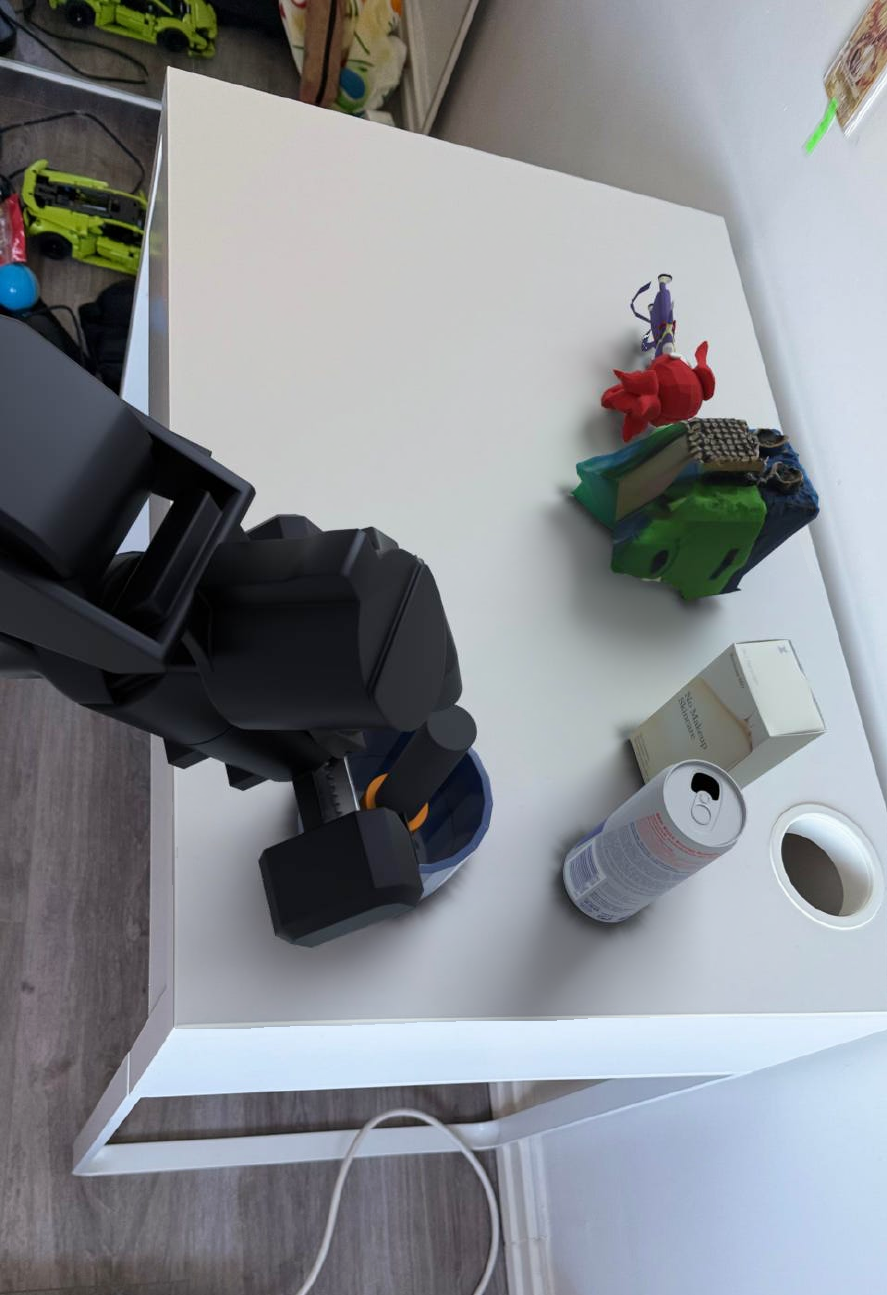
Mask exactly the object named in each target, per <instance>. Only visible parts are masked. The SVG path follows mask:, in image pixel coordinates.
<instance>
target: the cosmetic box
mask: <svg viewBox="0 0 887 1295" xmlns="http://www.w3.org/2000/svg"><path fill="white" fill-rule="evenodd" d="M798 656H799V655H798V654H797V651H796V649H795V647H794V644H793V641H792V639H791V638H790V637H782V638H781V637H780V638H763V639H749V640H740V641H739V640H738V641H734V642H732V643H731V644H730V645H729V647H727V648H726V649H725V650H724V651H723V652H721V654H719V655H718V656H717V657H716V658H714V659H713V660H712V661H711V662H710V663H709V664H708V665H707V666H706V667H705V668H703V669H702V670H701V671H700V672H699V673H698V674H696V675H695V676H694V677H693V678H692V679H691V680H689V681H688V682H687V683H686V684H685V685H684V686H683V687H682V688H681V689H680V690H679V691H677V692H676V693H675V694H674V695H673V696H672V697H671V698H669V699H668V700H667V701H666V702H665V703H664V704H663V705H662V706H660V707H659V708H658V709H657V710H656V711H655V712H653V714H652V715H650V716H649V717H648V718H647V719H645V721H643V723H642V724H640V725H638V727H637V728H636V729H635V730H634V731H633V732H631V733H630V734H629V739H630V743H631V746H632V748H633V752H634V755H635V757H636V761H637V764H638V766H639V770H640V773H641V776H642V779H643V782H644V786H645V785H646V784H647V783H648V782H650V781H651V780H652V779H653V778H654V777H655V776H657V775H658V774H659V773H660V772H661V771H662V770H664V769H665V768H667V767H669V766H670V765H674V764H677V763H680V762H683V761H686V760H694V759H697V760H704V761H707V762H710V763H712V764H714V765H716V766H718V767H720V768H721V769H723V770H724V771H725V772H727V773H728V774H729V775H730V776H731V777H732V778H733V779H734V781H735V782H736V783H737V785H738V786H739V788H740V790H741V791H742V790H744V788H745V789H746V787H747V786H749V785H750V784H752V783H754V782H755V781H756V780H757V779H759V778H761V777H762V776H764V775H765V774H766V773H768V772H769V771H771V770H772V769H774V768H775V767H777V766H779V765H780V764H781V763H782V762H784V761H785V760H788V758H790V757H791V756H793V755H794V754H796V753H798V752H799V751H800V750H802V749H803V748H804V747H806V746H808V745H809V744H810V743H812V742H813V741H815V740H816V739H817V738H820V737H821V736H823V735H824V734H825V733H827V732H828V726H827V724H826V721H825V718H824V717H823V714H822V711H821V710H820V706H819V704H818V702H817V699H816V696H815V694H814V691H813V688H812V686H811V684H810V682H809V679H808V677H807V675H806V672H805V670H804V667H803V666H802V663H801V661H800V659H799V657H798Z"/></svg>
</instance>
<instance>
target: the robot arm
mask: <svg viewBox="0 0 887 1295" xmlns="http://www.w3.org/2000/svg"><path fill="white" fill-rule="evenodd" d="M212 454H213V451H212V450H211V449H208V448H206V447H204V446H202V445H200V444H198V443H196V442H195V441H192V440H190V439H189V438H186V437H185V436H182V435H181V434H178V433H177V432H174V431H172V430H170V429H169V428H167V427H166V426H164V425H162V424H161V423H159V422H158V421H156V420H155V419H153V418H152V417H151V416H149V415H147V414H146V413H144V412H142V411H141V410H140V409H138V408H137V407H136V406H134V405H133V404H131V403H129V402H128V401H126V400H125V399H123V398H122V397H121V396H118V395H117V394H116V393H115V392H114V391H113V390H112V389H111V388H109V387H108V386H106V385H105V384H104V383H103V382H101V381H100V380H99V379H97V378H96V377H95V376H94V375H92V373H90V372H89V371H87V369H85V368H84V367H82V366H81V365H79V364H78V363H77V362H75V361H74V360H73V359H72V358H71V357H70V356H68V355H67V354H65V352H63V351H62V350H60V349H59V348H58V347H57V346H55V345H54V344H53V343H52V342H51V341H49V340H48V339H47V338H45V337H44V336H42V335H41V334H40V333H39V332H38V331H36V330H35V329H33V328H32V327H31V326H29V325H28V324H27V323H25V322H24V321H22V320H19V319H17V318H14V317H11V316H7V315H4V314H0V677H1V678H4V679H11V680H17V679H18V680H19V679H22V680H25V679H26V680H27V679H28V680H29V679H34V680H35V679H39V680H40V679H41V680H42V679H44V680H46V681H47V682H48V683H49V684H50V686H52V687H53V688H54V689H55V690H56V691H58V692H59V694H61V695H63V696H64V697H65V698H67V699H68V700H69V701H71V702H73V703H76V704H77V705H79V706H81V707H84V708H86V709H88V710H91V711H93V712H95V713H98V714H100V715H103V716H105V717H108V718H110V719H113V720H116V721H119V722H121V723H124V724H126V725H128V726H130V727H133V728H136V729H139V730H141V731H144V732H146V733H148V734H151V735H154V736H157V737H159V738H161V739H162V741H163V746H164V751H165V756H166V761H167V764H168V765H171V766H173V767H175V768H179V769H181V770H187V769H188V768H191V767H193V766H195V765H196V764H199V763H201V762H203V761H205V760H207V759H210V758H211V759H214V760H216V761H218V762H222V763H224V767H225V771H226V776H227V780H228V785H229V787H230V788H234V789H236V790H239V791H241V792H246V791H247V790H250V789H251V788H254V787H256V786H258V785H260V784H262V783H265V782H267V781H268V780H269V781H272V782H274V783H290V782H291V785H292V788H293V793H294V797H295V800H296V804H297V805H296V806H297V808H298V811H299V813H300V817H301V821H302V825H303V829H304V833H301V834H299V833H298V834H297V835H295V836H292V837H290V838H288V839H287V838H286V839H285V840H283V841H280V842H278V843H276V844H274V845H271V846H269V847H267V848H266V847H265V848H264V849H263V851H262V852H261V853H260V854H261V855H260V856H259V858H258V859H257V862H258V866H259V872H260V875H261V880H262V884H263V889H264V894H265V897H266V902H267V906H268V911H269V915H270V916H269V917H270V919H271V920H270V921H271V926H272V930H273V933H274V936H275V937H276V938H278V939H280V940H282V941H284V942H286V943H287V944H290V945H292V946H298V947H303V948H305V947H306V948H310V949H313V948H315V947H318V946H321V945H323V944H326V943H328V942H331V941H335V940H336V939H339V938H341V937H344V936H346V935H349V934H352V933H354V932H357V931H359V930H362V929H364V928H367V927H369V926H372V925H375V924H377V923H380V922H383V921H385V920H388V919H391V918H393V917H396V916H398V915H401V914H404V913H405V912H408V911H410V910H413V909H416V908H417V907H418V905H419V902H420V901H421V900H420V898H421V896H422V894H423V892H424V887H423V883H422V879H421V876H420V872H419V861H418V857H417V854H416V852H418V851H420V848H419V844H418V843H417V842H416V841H415V840H414V839H413V838H412V836H411V832H410V828H409V825H408V821H407V818H406V814H405V812H402V813H400V814H397V813H396V812H395V811H392V810H390V809H388V808H385V807H380V808H372V809H365V810H360V806H359V802H358V798H357V795H356V791H355V787H354V783H353V779H352V776H351V772H350V768H349V764H348V760H347V757H346V756H348V755H350V754H353V753H355V752H357V751H359V750H362V749H364V748H366V745H365V741H364V738H363V734H362V731H405V732H411V731H413V730H415V729H417V728H419V727H421V726H422V725H423V724H424V723H425V721H426V720H427V719H428V718H429V717H430V715H431V713H432V712H439V711H442V710H445V709H448V708H450V707H452V706H453V705H454V704H455V705H456V703H458V702H459V701H460V699H461V696H462V694H463V681H462V680H463V679H462V674H461V669H460V662H459V661H460V660H459V655H458V654H459V653H458V650H457V646H456V643H455V640H454V636H453V633H452V629H451V627H450V626H451V625H450V624H449V620H448V616H447V614H446V611H445V608H444V603H443V601H442V598H441V593H440V590H439V587H438V584H437V582H436V579H435V576H434V574H433V572H432V571H431V569H430V566H429V565H428V564H427V563H426V562H425V560H424V559H423V558H422V557H418V555H417V554H413V553H412V552H409V551H407V550H405V549H404V548H400V546H399V542H397V541H396V540H395V539H394V538H392V537H391V536H389V535H387V534H386V533H384V532H382V531H381V530H379V529H378V528H376V527H375V526H372V525H371V526H367V527H364V528H344V529H343V528H342V529H330V530H324V531H323V529H321V528H320V527H319V526H318V525H316V524H315V523H314V522H313V521H311V520H310V519H309V518H308V517H307V516H305V515H301V514H297V513H282V514H281V513H277V514H275V515H273V516H271V517H270V518H267V519H266V520H264V521H262V522H260V523H258V524H256V525H255V526H252V527H250V528H249V529H247V530H245V529H244V528H243V526H242V525H241V524H242V522H243V521H244V518H245V517H246V515H247V513H248V511H249V509H250V507H251V505H252V503H253V501H254V499H255V497H256V495H257V490H256V488H255V486H254V485H253V484H251V482H249V481H247V480H246V479H244V478H243V477H241V476H240V475H239V474H237V473H235V472H234V471H232V470H230V469H229V468H227V467H226V466H224V465H223V464H221V463H220V462H218V461H217V460H215V459H214V458H213V457H212ZM152 494H153V495H155V496H158V497H161V498H163V499H166V500H169V501H171V502H172V503H171V504H170V506H169V508H168V510H167V512H166V514H165V515H164V517H163V519H162V521H161V523H160V525H159V526H158V528H157V530H156V532H155V533H154V535H153V537H152V539H151V540H150V542H149V544H148V546H147V547H146V549H145V550H143V551H142V550H129V551H124V552H119V553H118V551H119V549H120V548H121V547H122V544H123V543H124V541H125V540H126V537H127V536H128V534H129V533H130V531H131V529H132V527H133V526H134V524H135V523H136V520H138V517H139V516H140V514H141V512H142V511H143V509H144V507H145V505H146V503H147V502H148V500H149V498H150V496H151V495H152ZM327 763H328V764H327ZM329 771H331V772H330V773H329ZM331 780H332V781H331ZM333 788H335V789H334V790H333ZM335 797H337V798H335ZM337 805H340V806H339V807H338V806H337ZM340 814H341V815H340Z"/></svg>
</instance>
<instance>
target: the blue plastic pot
mask: <svg viewBox="0 0 887 1295" xmlns="http://www.w3.org/2000/svg"><path fill="white" fill-rule="evenodd" d="M417 729H418V728H417ZM417 729H415V730H413V731H411V732H405V731H362V734H363V738H364V741H365V745H366V748H364V749H362V750H359V751H357V752H355V753H353V754H350V755H348V756H346V757H347V760H348V764H349V768H350V772H351V776H352V779H353V783H354V787H355V791H356V795H357V798H358V802H359V800H360V799H361V797H362V796H363V794H364V792H365V791H366V789H367V788H368V786H369V785H370V783H371V782H372V781H373V780H374V779H376V778H377V777H379V776H381V775H384V774H388V773H389V771H390V770H391V768H392V767H393V765H394V764H395V762H396V761H397V759H398V758H399V756H400V755H401V753H402V752H403V750H404V749H405V747H406V746H407V744H408V743H409V741H410V740H411V738H412V737H413V735H414V734H415V732H416V731H417ZM327 764H328V763H327ZM330 772H331V771H329V773H330ZM331 781H332V780H331ZM334 789H335V788H333V790H334ZM335 798H337V797H335ZM427 803H428V812H427V816H426V818H425V820H424V822H423V823H422V825H421V826H420V827H419V828H418V830H417V831H416V832H415V833H414V835H413V836H412V838H413V839H414V840H415V841H416V842H417V843H418V844H419V848H420V851H418V852H416V854H417V857H418V861H419V872H420V876H421V879H422V883H423V887H424V892H423V894H422V896H421V898H420V900H419V901H421V900H423V899H425V898H426V897H428V896H430V895H431V894H432V893H434V892H435V891H436V890H437V889H439V888H440V887H441V886H442V885H443V884H444V883H446V881H448V880H449V879H450V878H451V876H453V875H454V873H456V871H457V870H458V869H459V868H460V867H461V866H462V865H463V864H464V863H465V862H466V861H467V860H468V859H469V858H470V857H471V856H472V855H473V854H474V852H476V851H477V849H478V848H479V847H480V844H481V843H482V842H483V839H484V838H485V836H486V834H487V832H488V831H489V830H490V825H491V820H492V819H491V818H492V813H493V808H494V799H493V791H492V785H491V780H490V776H489V774H488V771H487V769H486V768H485V766H484V764H483V761H482V760H481V757H480V755H479V754H478V752H477V751H476V750H475V749H474V748H473V746H471V747H470V749H469V750H468V751H467V752H466V754H465V755H464V756H463V757H462V759H461V760H460V761H459V763H458V764H457V765H456V766H455V768H454V769H453V770H452V772H451V773H450V774H449V775H448V777H447V778H446V779H445V781H444V782H443V783H442V784H441V786H440V787H439V788H438V789H437V791H436V792H435V793H434V795H433V796H432V797H431V798H430V800H429V801H428V802H427ZM337 806H338V807H339V806H340V805H337ZM340 815H341V814H340ZM297 829H298V835H299V834H301V833H304V829H303V825H302V821H301V817H300V813H299V810H298V811H297Z"/></svg>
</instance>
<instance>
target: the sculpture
mask: <svg viewBox="0 0 887 1295" xmlns="http://www.w3.org/2000/svg"><path fill="white" fill-rule="evenodd" d="M789 439H790V436H789V435H787V434H782V432H781V431H780V430H778V429H776V428H762V427H757V428H750V427H749V424H748V420H745V419H741V418H739V419H736V418H734V417H729V418H727V417H724V418H722V417H717V418H715V417H705V418H703V417H696V416H694V417H693V418H691V419H688V420H684V419H683V420H681V421H679V422H677V423H675V424H670V425H668V426H660V427H658V428H655V429H654V430H652V432H651V433H649V434H648V435H647V436H646V437H644V438H642V439H639V440H637V441H636V442H633V443H631V444H629V445H627V446H625V447H623V448H621V449H619V450H617V451H615V452H613V453H607V454H602V455H597V456H593V457H590V458H588V459H586V460H583V461H580V462H577V463H575V469H576V475H577V476H578V478H579V480H580V481H581V482H580V483H579V484H578V485H577V487H575V489H574V490H571V491H570V492H569V494H570V495H572V496H573V497H575V498H576V500H577V501H579V503H580V504H581V505H582V506H583V507H584V508H585V509H586V510H587V511H588V512H589V513H590V514H591V515H592V516H593V517H594V518H595V519H596V520H597V521H598V522H600V523H601V524H603V525H604V526H605V527H607V528H608V529H609V530H611V531H612V532H613V538H612V547H611V558H610V564H609V570H610V571H612V573H614V575H627V576H629V577H633V578H635V579H638V580H642V581H645V582H652V581H654V582H657V583H661V582H662V583H663V582H666V583H667V584H668V585H669V586H670V587H671V588H674V589H676V590H678V591H679V593H680V594H681V596H682V597H683V598H684V600H686V601H687V602H688V601H691V600H695V599H701V598H707V597H714V596H721V595H728V594H731V593H736V592H740V591H742V589H741V588H739V587H738V586H739V585H740V583H741V581H742V579H743V578H744V577H745V575H747V574H748V573H749V572H751V570H753V569H754V568H755V567H756V566H757V565H759V564H760V563H761V562H763V560H764V559H766V558H767V557H768V556H770V555H771V554H772V553H773V552H774V551H775V550H777V549H778V548H779V547H780V546H781V545H783V544H784V543H785V542H786V541H788V539H789V538H791V537H792V536H793V535H794V534H796V533H797V532H799V531H800V530H802V529H803V528H805V526H807V525H809V524H810V523H811V522H813V521H814V520H815V519H817V517H818V515H819V514H820V510H821V509H820V507H819V501H820V497H819V494H818V492H817V491H816V489H815V488H814V485H813V483H812V481H811V479H810V478H809V477H808V475H807V473H806V469H805V468H804V467H803V465H802V464H801V462H800V459H799V456H800V454H799V453H798V452H796V451H795V450H794V448H793V446H792V445H791V443H790V441H789Z"/></svg>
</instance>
